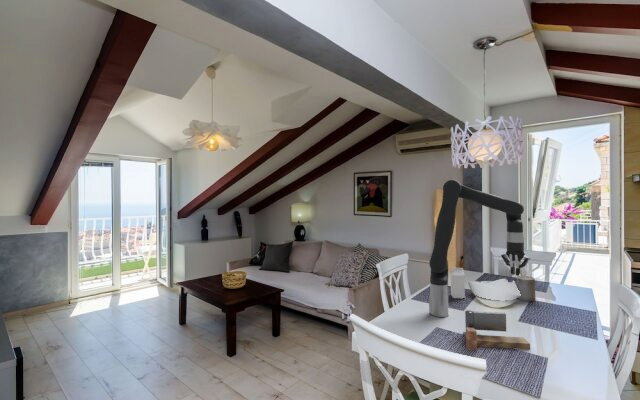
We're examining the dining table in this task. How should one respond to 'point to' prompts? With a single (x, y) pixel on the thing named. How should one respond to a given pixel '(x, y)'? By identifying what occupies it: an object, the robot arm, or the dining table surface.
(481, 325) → the bar
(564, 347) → the dining table surface
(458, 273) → the milk carton
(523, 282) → the pillar candle
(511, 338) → the door edge
